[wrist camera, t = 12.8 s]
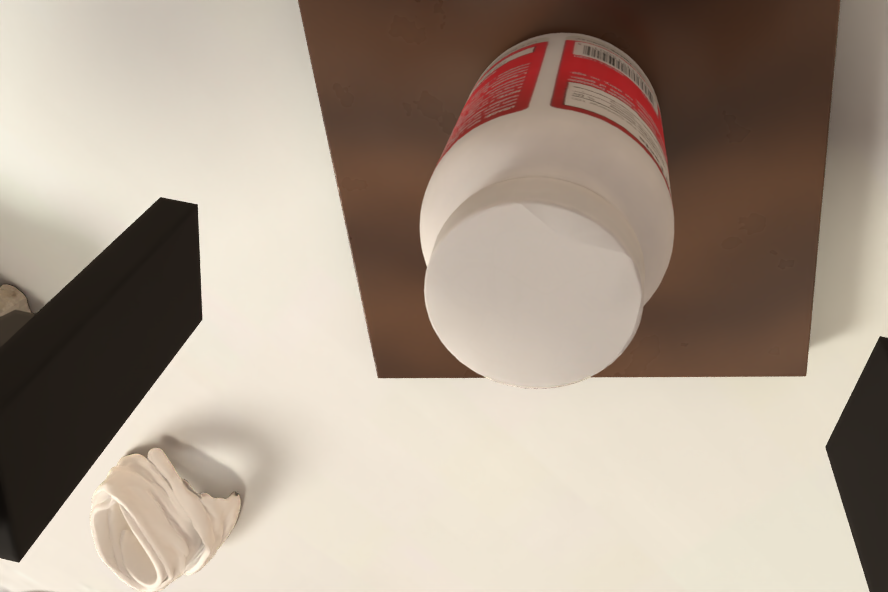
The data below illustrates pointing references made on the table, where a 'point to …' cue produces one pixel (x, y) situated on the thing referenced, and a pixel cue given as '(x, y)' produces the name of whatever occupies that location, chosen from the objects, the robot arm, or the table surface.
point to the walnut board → (687, 148)
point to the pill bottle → (548, 214)
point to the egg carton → (12, 300)
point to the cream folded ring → (156, 522)
